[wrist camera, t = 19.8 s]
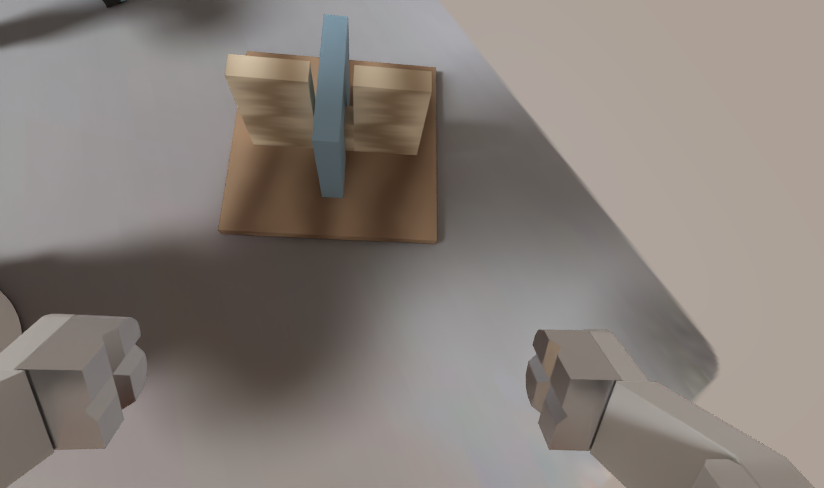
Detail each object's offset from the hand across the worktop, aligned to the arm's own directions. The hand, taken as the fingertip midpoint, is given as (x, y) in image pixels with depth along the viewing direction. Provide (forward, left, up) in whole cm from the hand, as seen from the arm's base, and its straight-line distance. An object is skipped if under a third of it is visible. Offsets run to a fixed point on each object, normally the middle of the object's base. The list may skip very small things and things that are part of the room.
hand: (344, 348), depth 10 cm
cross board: (-3, +23, -31) cm, 39 cm away
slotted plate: (-3, +23, -30) cm, 38 cm away
